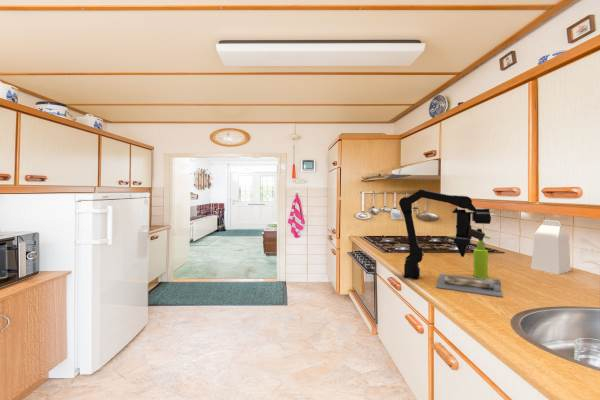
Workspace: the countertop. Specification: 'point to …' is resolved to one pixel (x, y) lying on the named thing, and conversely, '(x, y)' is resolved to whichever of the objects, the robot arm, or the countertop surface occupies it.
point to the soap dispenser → (481, 260)
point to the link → (465, 282)
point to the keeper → (495, 283)
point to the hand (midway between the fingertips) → (462, 256)
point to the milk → (551, 248)
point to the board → (464, 288)
